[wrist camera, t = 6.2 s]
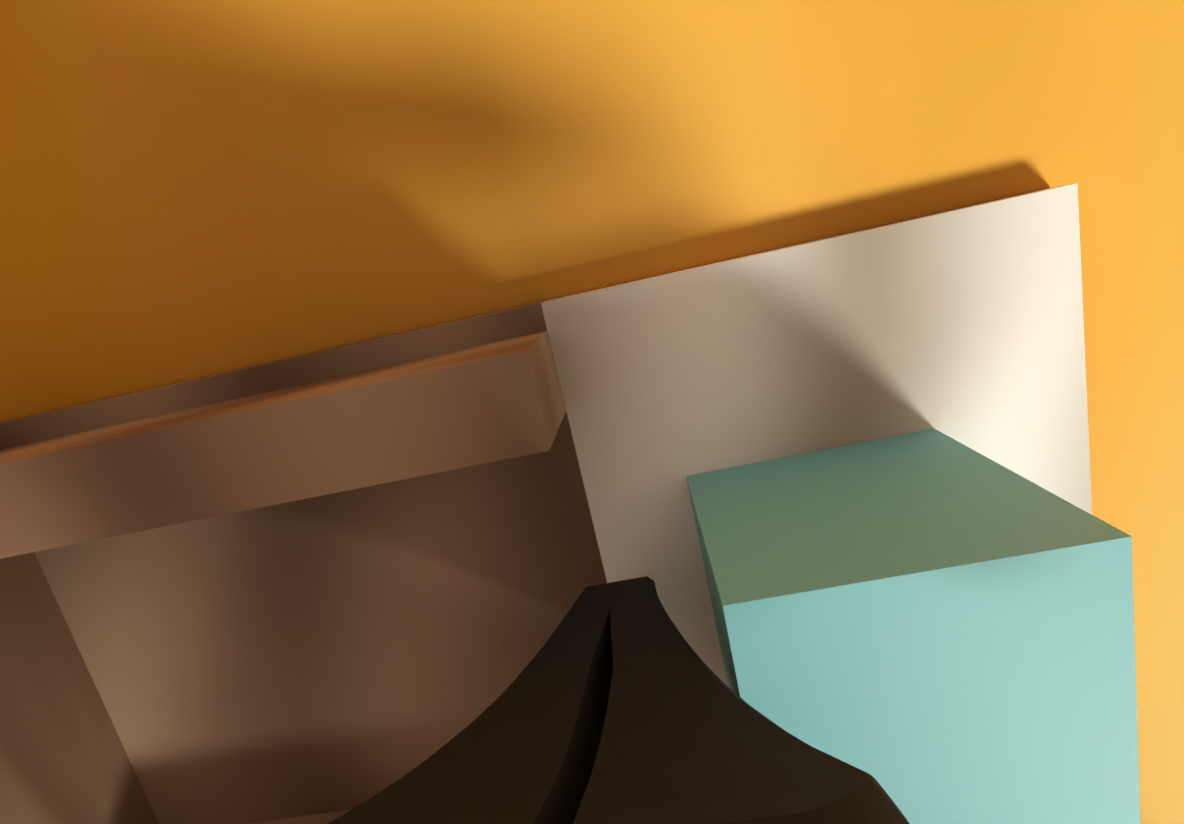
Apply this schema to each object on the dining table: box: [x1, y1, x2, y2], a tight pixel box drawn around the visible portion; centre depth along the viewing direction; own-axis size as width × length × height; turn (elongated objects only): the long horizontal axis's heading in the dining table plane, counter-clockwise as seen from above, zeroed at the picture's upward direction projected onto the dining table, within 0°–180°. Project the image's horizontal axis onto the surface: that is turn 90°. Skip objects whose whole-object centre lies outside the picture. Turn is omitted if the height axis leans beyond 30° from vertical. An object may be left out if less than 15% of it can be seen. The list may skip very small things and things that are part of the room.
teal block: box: [686, 429, 1140, 824], centre depth 10 cm, size 4×4×4 cm
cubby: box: [0, 184, 1092, 824], centre depth 11 cm, size 22×12×5 cm, turn 103°
